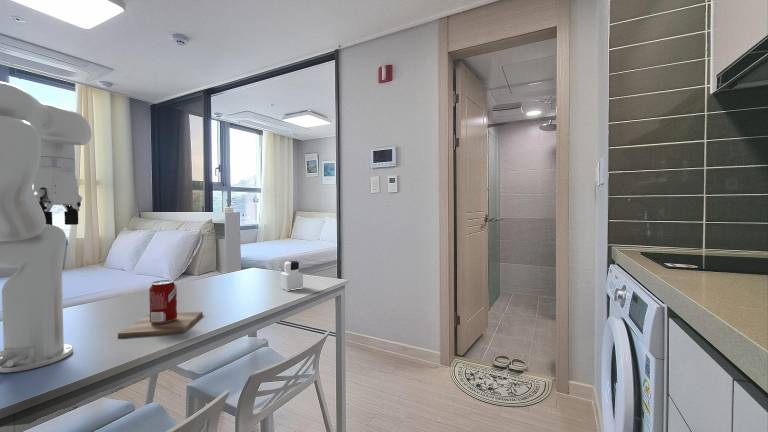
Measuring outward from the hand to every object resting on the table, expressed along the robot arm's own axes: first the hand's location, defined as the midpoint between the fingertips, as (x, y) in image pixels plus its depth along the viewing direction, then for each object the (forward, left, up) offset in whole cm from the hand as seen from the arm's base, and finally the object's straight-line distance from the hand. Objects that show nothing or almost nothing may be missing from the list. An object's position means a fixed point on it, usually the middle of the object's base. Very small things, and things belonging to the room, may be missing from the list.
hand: (58, 225), depth 93 cm
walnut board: (-1, -27, -30) cm, 41 cm away
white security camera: (+37, -61, -31) cm, 78 cm away
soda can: (-1, -27, -29) cm, 40 cm away
